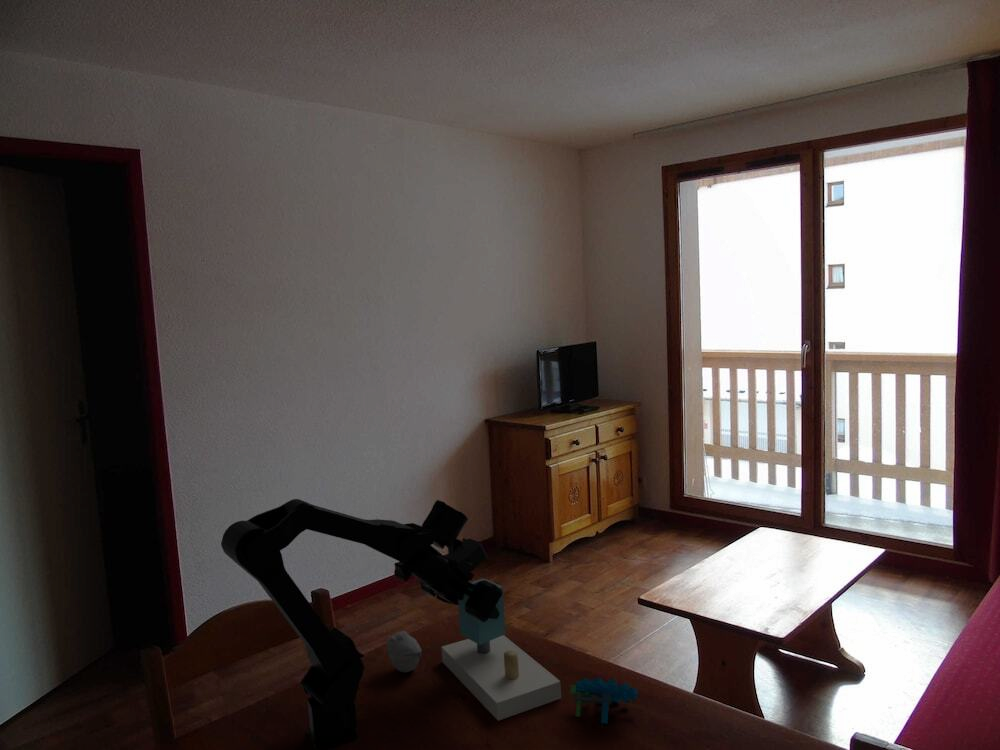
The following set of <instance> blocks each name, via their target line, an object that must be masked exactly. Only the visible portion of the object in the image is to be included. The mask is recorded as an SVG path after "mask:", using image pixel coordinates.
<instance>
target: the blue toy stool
mask: <svg viewBox="0 0 1000 750" xmlns="http://www.w3.org/2000/svg"><path fill="white" fill-rule="evenodd" d="M569 694H570V695H571V696H574V699H573V701H574V702H576V708H575V709H576V710H575V717H576V718H581V713H582V712H581V711H582V703H583V704H599V705H600V704H601V717H600V719H601V720H600V724H603V725H608V721H609V709H610V707H609V705H611V704H612V703H616V704H617V703H618V704H619V703H620V701H622V702H624V703H631V701H632V700H633V701H637V699H638V689H637V688H635V687H631V685H630V684H629V683H626V682H621V685H618V684H617V680H616V679H607V682H606V681H604V680H603V679H602V678H600V677H594V678H592V680H590V679H589V678H586V677H584V678H582V679H581V681H579V680H576V684H570V686H569ZM593 696H595V697H593Z"/></svg>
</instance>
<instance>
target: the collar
mask: <svg viewBox="0 0 1000 750" xmlns="http://www.w3.org/2000/svg"><path fill="white" fill-rule="evenodd" d="M483 580H485V581H488V582H490V583H492V584H495V585H496V586H498V587H499V588H500V589H501V590H502V596H501V597H500V599H499V601H498V603H497V604H496V608H497V609H498V611H499V613H500V615H499V617H498V619H490V618H488V620H487V621H485V622H482V621H480V620H478V619H476V618H474V617H472V616H470V615H468V613H467V612H465V603H466V602H467V600H468V598H469V597H467V596H465V595H463V596H464V599H463V600H462V601H460V600H458V605H457V606H458V619H459V620H458V621H459V633H460V635H461V636H463V637H464V638H466V639H470V640H472V641H473V642H475V643H477V644H479V645H481V644H483V643H486V642H488V641H490V640H493V639H495V638H498V637H500V636H502V635H504V636H505V635H506V633H507V632H506V618H505V617H506V616H505V598H504V587H503V586H502V585H500V584H497V583H495V582H493V581H491V580H488V579H485V578H480V579H478V580H475V581H474V580H473V581H472V582H471V581H470V583H472V584H474V585H477V583H478V582H480V581H483ZM467 589H469V588H467ZM469 590H470V589H469ZM472 591H473V590H472Z"/></svg>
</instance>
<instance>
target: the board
mask: <svg viewBox="0 0 1000 750" xmlns="http://www.w3.org/2000/svg"><path fill="white" fill-rule="evenodd" d="M441 658H442V659H441V661H442V663H443V664H444V665H445V667H447V668H448V669H449V671H450V672H451V673H452V674H454V676H455V677H456V678H457V679H458V680H459V681H460V683H462V685H464V686H465V688H467V690H469V692H470V693H471V694H472V695H473V696H474V697H475V698H476V699H477V701H479V702H480V703H481V704H482V705H483V707H484V708H485V709H486V710H487V711H488V712H489V713H490V714H491V715H492V716H493V717H494V718H495V719H496V720H497V721H498V722H499V721H501V720H504V719H508V718H510V717H512V716H515V715H518V714H521V713H524V712H527V711H530V710H533V709H535V708H539V707H541V706H543V705H546V704H549V703H553V702H555V701H557V700H561V699H562V687H561V681H560V680H559V679H558V678H557V677H556V676H555V675H553V674H552V673H551V672H549V671H548V670H547V669H546V668H545V667H544V666H542V665H541V664H540V663H539V662H537V661H536V660H535V659H534V658H532V657H531V656H530V655H529V654H527V653H526V652H525V651H524V650H523V649H521V648H520V646H518V645H516V644H515V643H514V642H513V641H512V640H510V639H509V638H508V637H506V636H505V635H502V636H500V637H498V638H495V639H493V640H490V641H488V642H486V643H483V644H481V645H479V644H477V643H475V642H473V641H472V640H470V639H468V638H466V639H463V640H460V641H457V642H452V643H448V644H445V645H443V646H441Z"/></svg>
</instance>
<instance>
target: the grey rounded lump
mask: <svg viewBox="0 0 1000 750" xmlns="http://www.w3.org/2000/svg"><path fill="white" fill-rule="evenodd" d="M385 650H386V653H387V655H388V659H389V660H390V661H391V664H392V666H393V667H394V668H395V669H396V670H397V671H398V672H401V673H410V672H412V671H413V670H414V669H416V667H417V666H418V664H419V663H420V662H419V661H420V658H421V657H422V651H423V650H422V648H421V645H420V644H419V643H418V641H417V640H416V639H415V638H414V637H413V636H411V635H410V634H408V632H407V631H406V630H401V631H399V632H396V633H394V634H393V635H391V636H390V637H389V638H387V641H386V646H385Z"/></svg>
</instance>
